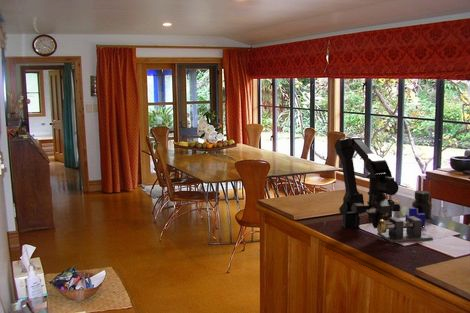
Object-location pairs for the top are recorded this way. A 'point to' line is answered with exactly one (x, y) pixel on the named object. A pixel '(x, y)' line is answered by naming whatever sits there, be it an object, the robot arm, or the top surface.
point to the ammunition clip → (388, 214)
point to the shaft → (390, 226)
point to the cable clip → (416, 215)
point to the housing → (405, 231)
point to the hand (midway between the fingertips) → (375, 228)
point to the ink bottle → (423, 203)
